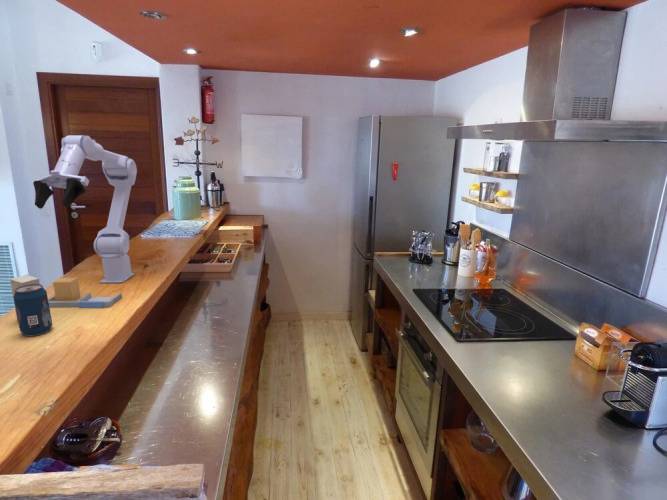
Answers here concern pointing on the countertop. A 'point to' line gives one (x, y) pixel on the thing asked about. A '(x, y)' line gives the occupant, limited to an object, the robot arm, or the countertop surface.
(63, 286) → the tan cardboard-colored block
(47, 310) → the soda can
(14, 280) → the skincare box
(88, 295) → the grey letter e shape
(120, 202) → the robot arm
